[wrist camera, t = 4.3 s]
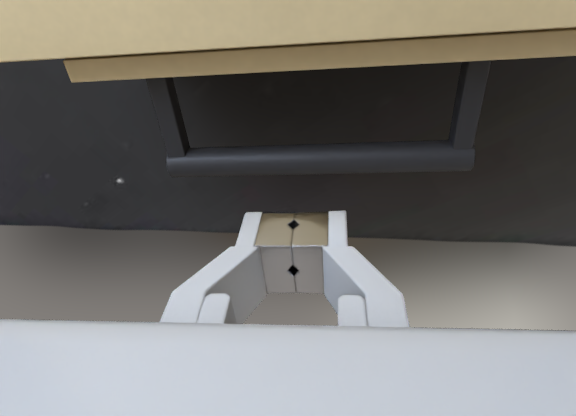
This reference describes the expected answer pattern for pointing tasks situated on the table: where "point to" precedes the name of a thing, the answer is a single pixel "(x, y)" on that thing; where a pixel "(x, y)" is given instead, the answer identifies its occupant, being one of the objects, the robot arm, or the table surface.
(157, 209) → the table surface
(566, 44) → the oven door
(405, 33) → the oven
